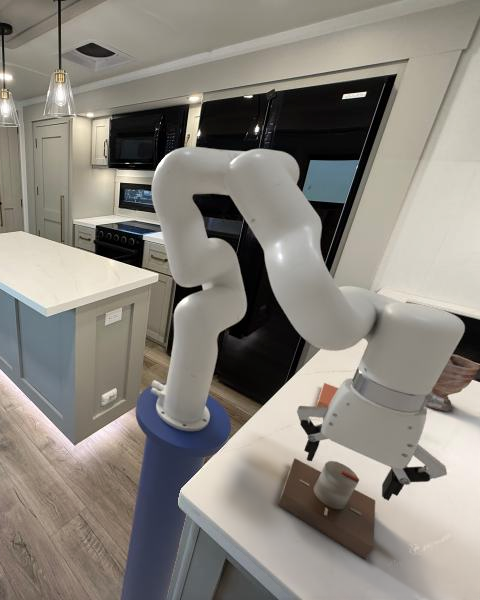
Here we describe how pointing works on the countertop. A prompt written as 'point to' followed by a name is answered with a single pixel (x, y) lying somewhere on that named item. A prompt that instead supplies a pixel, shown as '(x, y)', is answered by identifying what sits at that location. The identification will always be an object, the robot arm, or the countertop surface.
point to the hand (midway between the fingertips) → (345, 473)
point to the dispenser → (326, 395)
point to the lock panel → (330, 510)
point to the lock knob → (335, 485)
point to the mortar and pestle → (454, 379)
